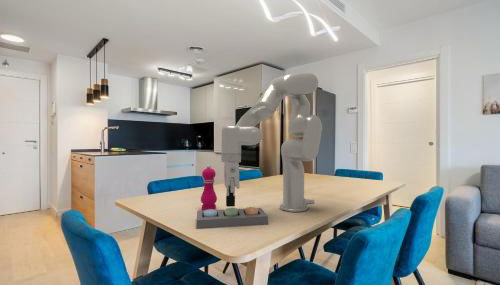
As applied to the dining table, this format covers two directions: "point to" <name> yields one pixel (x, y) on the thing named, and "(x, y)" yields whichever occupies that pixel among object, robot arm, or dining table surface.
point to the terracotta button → (251, 211)
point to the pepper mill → (208, 189)
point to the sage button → (231, 212)
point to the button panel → (231, 219)
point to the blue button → (210, 213)
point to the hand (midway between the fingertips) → (230, 205)
